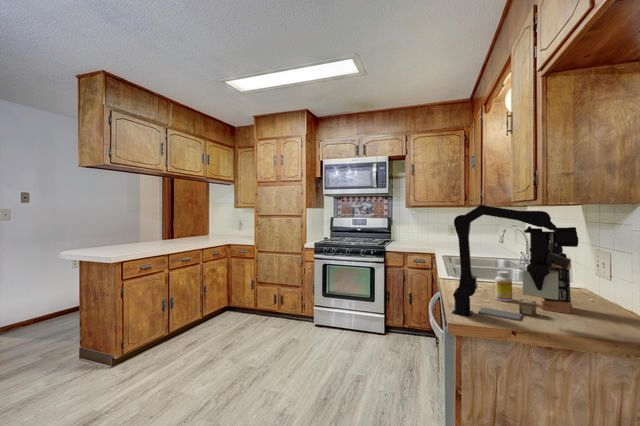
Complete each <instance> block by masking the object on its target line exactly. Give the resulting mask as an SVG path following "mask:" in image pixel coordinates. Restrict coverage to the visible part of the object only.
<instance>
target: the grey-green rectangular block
mask: <svg viewBox="0 0 640 426" xmlns="http://www.w3.org/2000/svg"><path fill="white" fill-rule="evenodd" d="M522 295H523V296H529V297H536V298H541V299H542V298H548V299H555V300H558V272H556V271H550V274H548V275H547V276H545V277H544V282H543V286H542V290H538V289H537V287H536V285H535V283H534V281H533V279H532V277H531V275H530V273H529V272H527V268H523V269H522Z"/></svg>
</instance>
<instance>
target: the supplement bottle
mask: <svg viewBox="0 0 640 426" xmlns="http://www.w3.org/2000/svg"><path fill="white" fill-rule="evenodd" d="M496 274H497V276H496V277H495V278H494V281H495V283H494V284H495V285H494V287H495V288H494V290H495V292H494V295H495V299H496V300H497V301H500V302H512V301H513V279H512V278H511V277H510V272H509V271H504V270H498V271H497V273H496Z"/></svg>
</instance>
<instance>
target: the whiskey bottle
mask: <svg viewBox="0 0 640 426" xmlns="http://www.w3.org/2000/svg"><path fill="white" fill-rule="evenodd" d="M551 235H552V233H550V249H551V253H554V254H557V255H559V254H560V253H563V252H564V247H563V246H556V245H555V243H552V240H551ZM571 262H572V261H571ZM571 262H570V264H569V266H568V268H567V269H564V268H562V267H561V266H558V265H555V264H553V263H552V267H550V268H551V270H550V271H556V272H558V300H555V299H548V298H541V306H540V307H541V308H540V309H542V310H546V311H551V312H558V313H564V314H565V313H566V314H573V301H572V298H571V278H570V269H571V268H572V263H571Z"/></svg>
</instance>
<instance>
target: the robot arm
mask: <svg viewBox="0 0 640 426" xmlns="http://www.w3.org/2000/svg"><path fill="white" fill-rule="evenodd" d="M481 216H482V217H483V216H489V217H496V218H501V219H507V220H514V221H518V222H522V223H524V224H528V225H530V226H527V228H526V229H524V230H523V232H524V233H525V234H529V238H530V239H529V243H530V244H529V245H530V246H529V254H530V255H529V256H530V258H529V263H528V264H527V265H526V269H527V272H529V273H530V275H531V277H532V279H533V281H534V283H535V285H536V287H537V289H538V290H542V286H543V282H544V277H545V276H547V275H548V274H550V270H551V268H550V267H552V263H553V264H555V265H558V266H561V267H562V268H564V269H567V268H568V266H569V264H570V262H572V260H571V258H569V257H568V256H567V254H566V253H560V254H559V255H557V254H554V253H551V249H550V233H552V235H551V240H552V243H555V245H556V246H562V248H565V247H569V248H578V246H579V237H578V232H577V227H576V226H569V227H557V226H556V224H554V223H553V222H552V221H551V215H550V214H549V212H547V211H543V210H517V209H509V208H502V207H496V206H495V207H494V206H488V205H485V204H479V205H478V206H476V207H475V208H474V209H472V210H470V211H469V212H467V213H466V214H459V215H457V216H455V218H454V220H453V224H454V229H455V231H456V232H455V233H456V235H457V237H458V247H459V248H458V250H459V264H460V276H459V277H460V278H459V283H458V284H459V285H458V287H457V288H456V289H455V290H454V292H453V299H454V309H453V310H452V311H451V313H452V314H455V315H459V316H465V317H470V316H471V315H472V314H473V313H474V311H473V310H471V298H470V297H471V296H473V295H475V293H476V290H478V286H479V284H478V282H477V279H478V278H477V277H478V276H477V275H473V272H472V260H471V248H470V247H471V246H470V233H471V227H472V225H471V224H472V222H475V220H477V219H479V218H481ZM531 225H532V226H534V227H535V228H533V227H531ZM536 227H537V228H536ZM543 228H544V229H546V230H547V231H546V230H544V231H543Z"/></svg>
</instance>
